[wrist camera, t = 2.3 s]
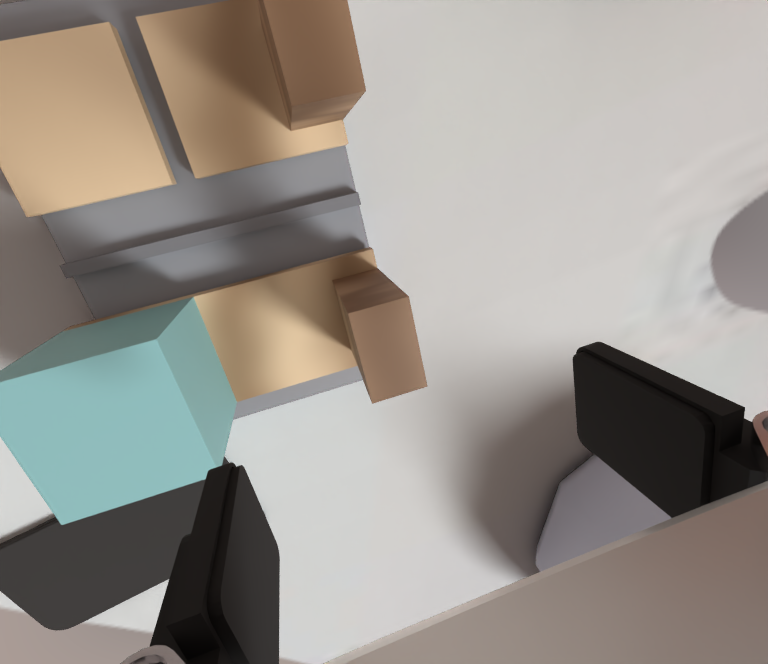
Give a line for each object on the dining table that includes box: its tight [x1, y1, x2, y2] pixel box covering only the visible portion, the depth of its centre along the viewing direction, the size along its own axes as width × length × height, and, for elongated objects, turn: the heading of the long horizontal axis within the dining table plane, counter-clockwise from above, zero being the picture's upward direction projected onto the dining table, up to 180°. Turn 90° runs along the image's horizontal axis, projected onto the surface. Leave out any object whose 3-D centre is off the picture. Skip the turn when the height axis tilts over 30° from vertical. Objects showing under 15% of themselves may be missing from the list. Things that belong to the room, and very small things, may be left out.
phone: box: [0, 457, 265, 630], centre depth 26 cm, size 7×1×15 cm
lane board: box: [0, 0, 369, 420], centre depth 20 cm, size 14×20×2 cm
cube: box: [0, 297, 237, 525], centre depth 18 cm, size 6×6×6 cm
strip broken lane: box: [136, 0, 366, 179], centre depth 15 cm, size 7×6×7 cm
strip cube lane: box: [62, 247, 427, 404], centre depth 19 cm, size 15×6×7 cm, turn 103°
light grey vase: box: [535, 454, 671, 572], centre depth 27 cm, size 20×20×19 cm
